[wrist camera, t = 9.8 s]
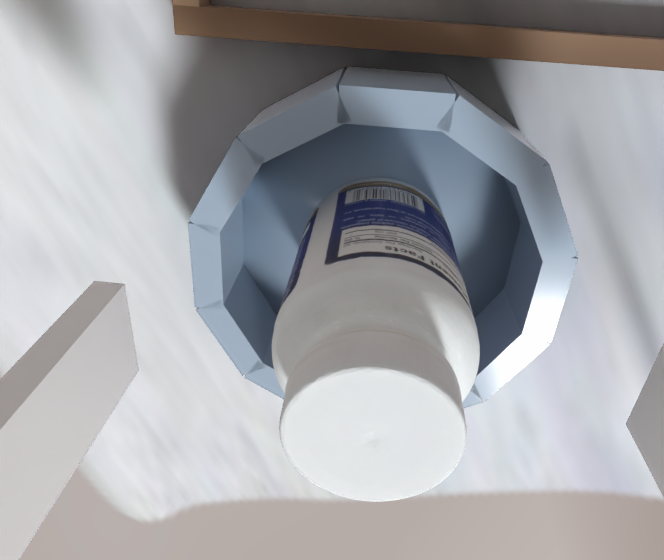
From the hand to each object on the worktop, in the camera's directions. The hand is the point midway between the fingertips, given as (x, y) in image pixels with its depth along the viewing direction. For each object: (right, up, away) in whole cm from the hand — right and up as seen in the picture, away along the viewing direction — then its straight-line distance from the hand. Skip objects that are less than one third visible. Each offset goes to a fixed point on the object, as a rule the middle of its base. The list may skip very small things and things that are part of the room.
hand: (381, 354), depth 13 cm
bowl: (0, +3, +7) cm, 8 cm away
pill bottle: (0, +3, +7) cm, 7 cm away
